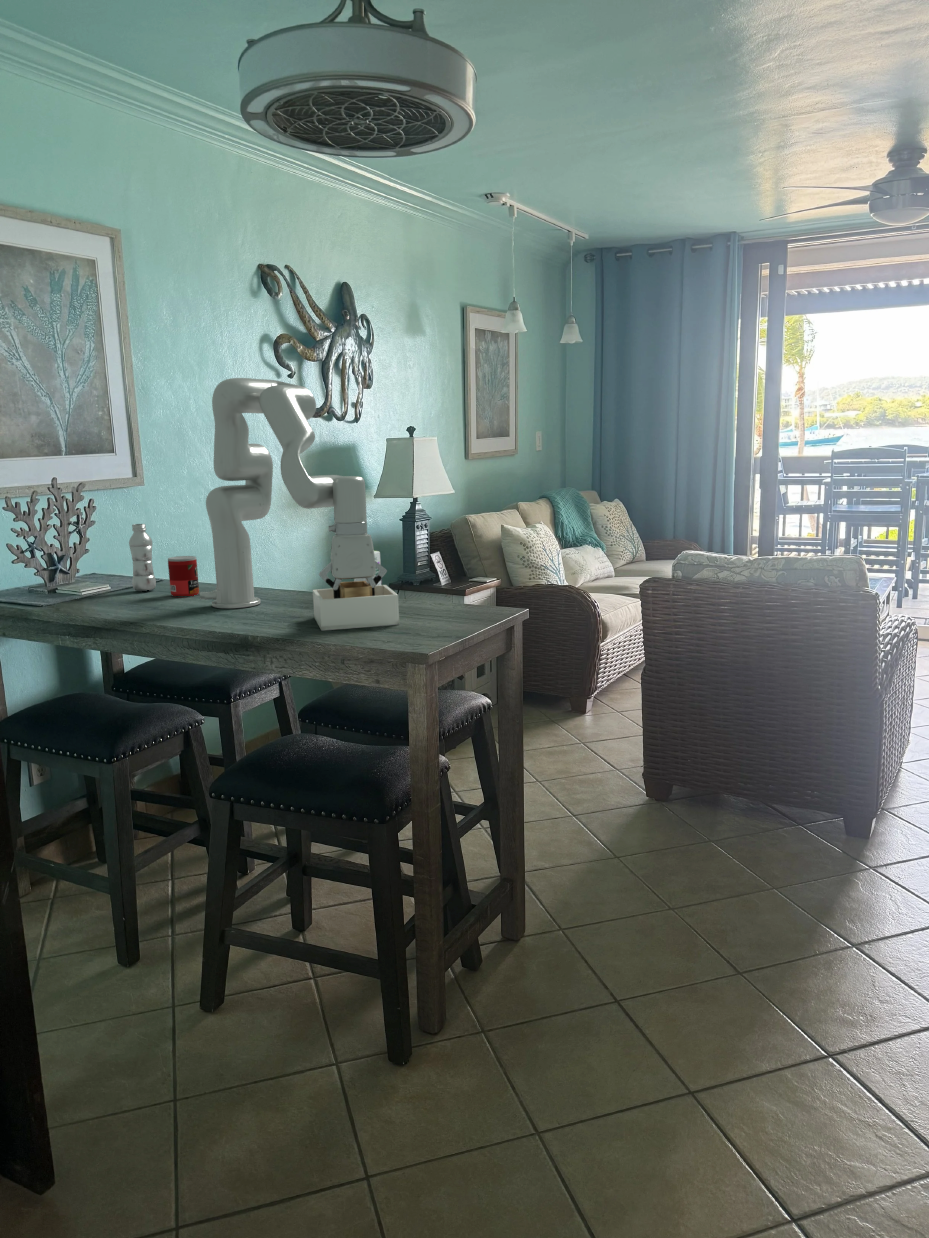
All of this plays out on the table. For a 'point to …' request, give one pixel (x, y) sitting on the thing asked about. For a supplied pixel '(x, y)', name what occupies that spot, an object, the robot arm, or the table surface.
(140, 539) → the plastic bottle
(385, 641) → the table surface
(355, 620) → the plastic crate
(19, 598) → the table surface
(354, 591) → the wooden crate
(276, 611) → the table surface
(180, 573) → the canned food
